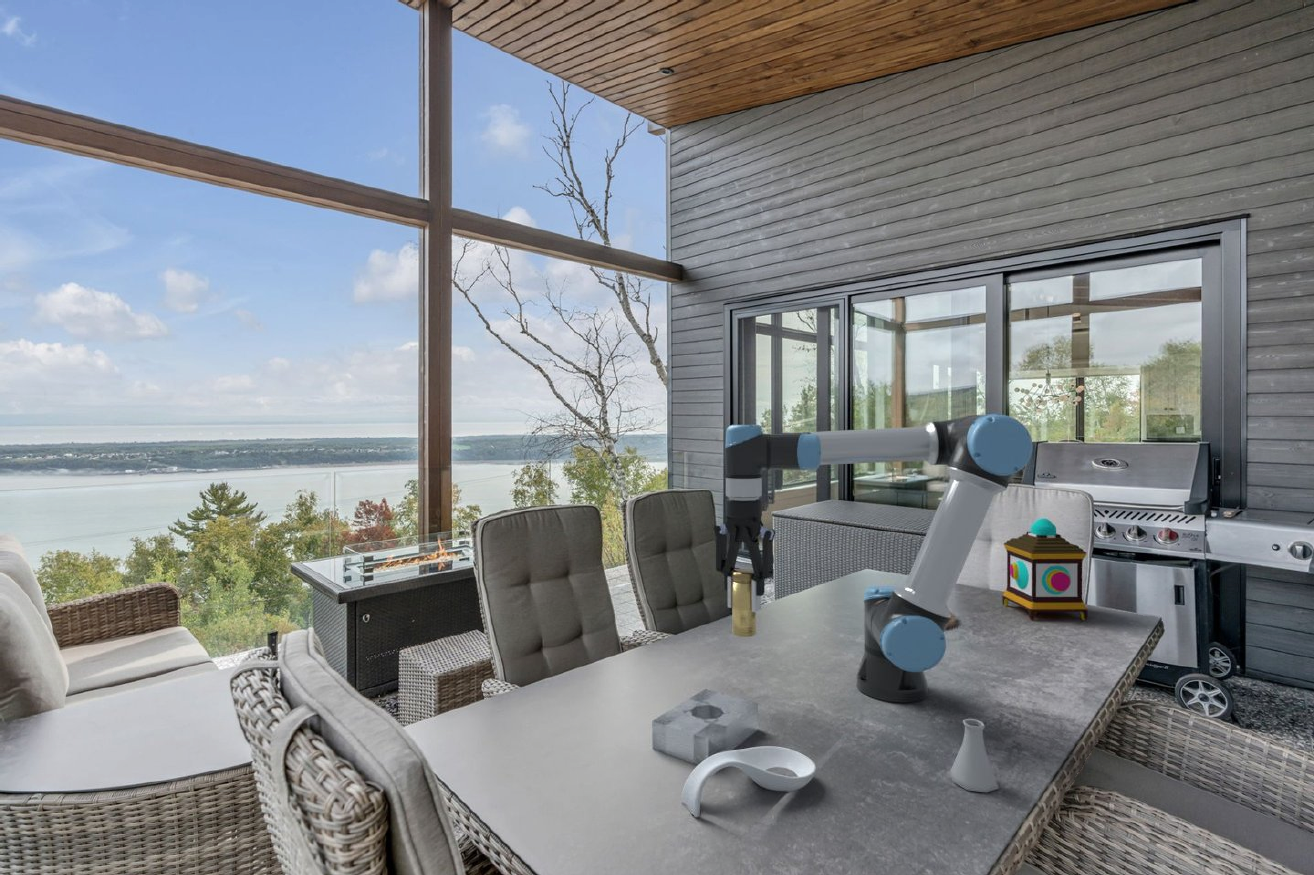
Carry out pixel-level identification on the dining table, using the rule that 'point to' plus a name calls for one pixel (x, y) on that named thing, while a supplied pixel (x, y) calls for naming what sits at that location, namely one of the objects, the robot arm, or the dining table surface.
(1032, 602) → the decorative lantern
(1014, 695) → the dining table surface
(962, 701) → the dining table surface
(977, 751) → the flask
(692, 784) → the spoon rest
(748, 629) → the gold capped cylinder
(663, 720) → the bore housing
